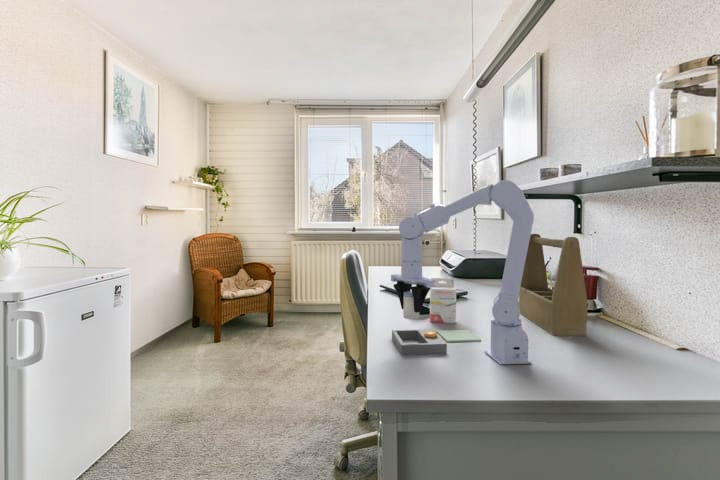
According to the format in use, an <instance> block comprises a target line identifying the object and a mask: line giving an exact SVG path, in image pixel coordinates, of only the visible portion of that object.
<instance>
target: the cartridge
mask: <svg viewBox="0 0 720 480" xmlns="http://www.w3.org/2000/svg"><path fill="white" fill-rule="evenodd" d="M402 310H403V312H402V313H403V319H408V320H418V319H420V313H421V312H418V313H416V312H415V311H414V299H413V294H412V290H410V291H404V303H403V309H402Z"/></svg>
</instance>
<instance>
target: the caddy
mask: <svg viewBox="0 0 720 480" xmlns="http://www.w3.org/2000/svg"><path fill="white" fill-rule="evenodd" d="M543 246H546V247H552V248H558V249H561V251H560V255H559V261H558V265H557V269H556V275H555V281H554V285H553V288H551V287H549V283H548V275H547V268H546V261H545V255H544V247H543ZM583 267H584V266H583V260H582V254H581V247H580V241H579V239H578V237H575V236H567V237H565V238H564V239H559V238H557V239H553V238H547V237H541V235H540V234H539V233H531V236H530V241H529V246H528V251H527V256H526V261H525V266H524V271H523V276H522V281H521V286H520V292H519V299H518V301H519V309H520V315H521V316H524V318H526V319H527V320H529V321H530V322H532V323H533V324H535V325H536V326H538V327H540V328H541V329H542V330H544V331H545V332H547V333H548V334H550V335H551V336H567V337H568V336H570V337H571V336H572V337H573V336H575V337H577V336H578V337H579V336H583V337H584V336H587V333H588V332H587V329H588V327H587V326H588V325H587V324H588V310H589V305H588V296H587V289H586V281H585V274H584V268H583Z"/></svg>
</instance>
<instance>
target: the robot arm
mask: <svg viewBox="0 0 720 480" xmlns="http://www.w3.org/2000/svg"><path fill="white" fill-rule="evenodd" d="M492 202H493V203H494V204H495V205H496V206H497V207H499V208H500V209H502V210H503V211H505V213H506V214H507V215H508V217H509V218H510V219H511V220H512V226H511V233H510V237H509V243H508V248H507V253H506V259H505V263H504V269H503V272H502V273H503V274H502V279H501V285H500V289H499V293H498V294H497V295H496V297H495V298H494V301H493V306H492V311H491V312H492V317H491V318H490V349H485V350H484V353H485V354H487V355H488V356H489V357H491V359H493V360H494V361H495V362H497V363H498V364H499V365H520V364H521V365H522V364H523V365H524V364H532V361H531V359H529V336H528V333H526V330H524V328H523V326H522V320H521V318H520V317H521V314H520V309H519V292H520V286H521V281H522V276H523V271H524V266H525V261H526V256H527V251H528V246H529V241H530V236H531V234H532V229H533V224H534V221H535V214H534V212H533V210H532V208H531V206H530V204H529V201H528V200H527V198H526V196H525V193H524V191H523V190H522V189H521V188H520V186H518V185H517V184H516V183H515V182H514V181H511V180H509V179H508V180H507V179H503V180H502V179H501V180H500V181H498V182H496V183H495V184H493V183H491V184H489V185H486V186H483V187H481V188H478V189H476V190H474V191H472V192H470V193H468V194H466V195H464V196H462V197H461V198H458V199H456V200H454V201H453V202H450V203H447V204H446V205H444V204H441V203H437V204H435V203H432V204H430V205H429V208H426V209H425V210H423V211H421V212H420V211H419V212H418V211H417V212H415V213H413V216H406V217H405V218H403V219H402V220H401V221H400V223H399V226H398V230H399V233H400V235H401V245H400V246H401V247H400V253H401V255H400V261H401V263H400V267H401V271H400V274H397V273H395V274H394V273H393V274H391V275H390V281H391V282H394V283H395V282H396V283H395V284H393V288H394V290H395V292H396V294H397V297H398V298H399V302H400V307H401V309H402V310H403V303H404V291H412V294H413V299H414V311H415V312H416V313H418V312H420V313H421V312H422V311H423V307H424V303H425V300H426V297H427V296H428V294H429V293H430V288H431V287H434V280H432V279H431V278H428V277H425V276H424V275H423V234H424V233H426V234H428V233H429V232H431V231H434V230H436V229H439V228H440V227H443V226H445V225H447V224H449V221H450V219H451V217H453V216H455V215H457V214H459V213H463V212H465V211H467V210H469V209H472V208H474V207H477V206H480V205H482V206H483V205H485V206H492Z"/></svg>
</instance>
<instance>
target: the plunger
mask: <svg viewBox="0 0 720 480" xmlns="http://www.w3.org/2000/svg"><path fill="white" fill-rule="evenodd" d="M437 335H438V333H437V331H434V332H425V333H424V336H425V337H426V338H437Z"/></svg>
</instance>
